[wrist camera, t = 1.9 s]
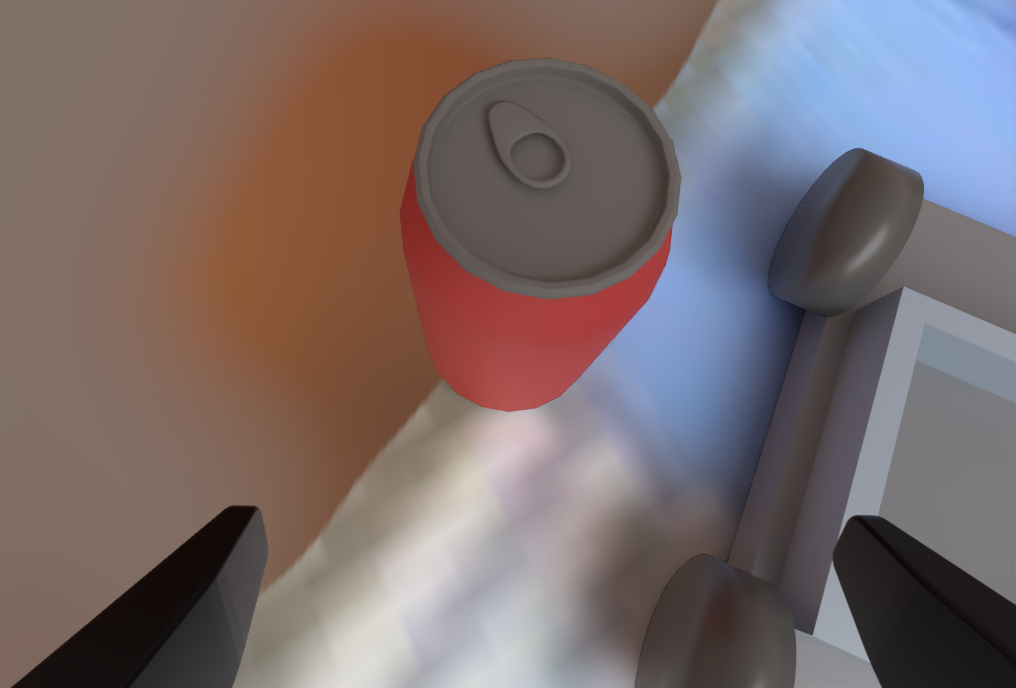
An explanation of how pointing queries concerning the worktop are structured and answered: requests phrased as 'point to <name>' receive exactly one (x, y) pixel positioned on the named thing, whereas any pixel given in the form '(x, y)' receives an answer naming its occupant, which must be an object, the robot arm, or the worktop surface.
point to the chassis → (860, 434)
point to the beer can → (535, 226)
